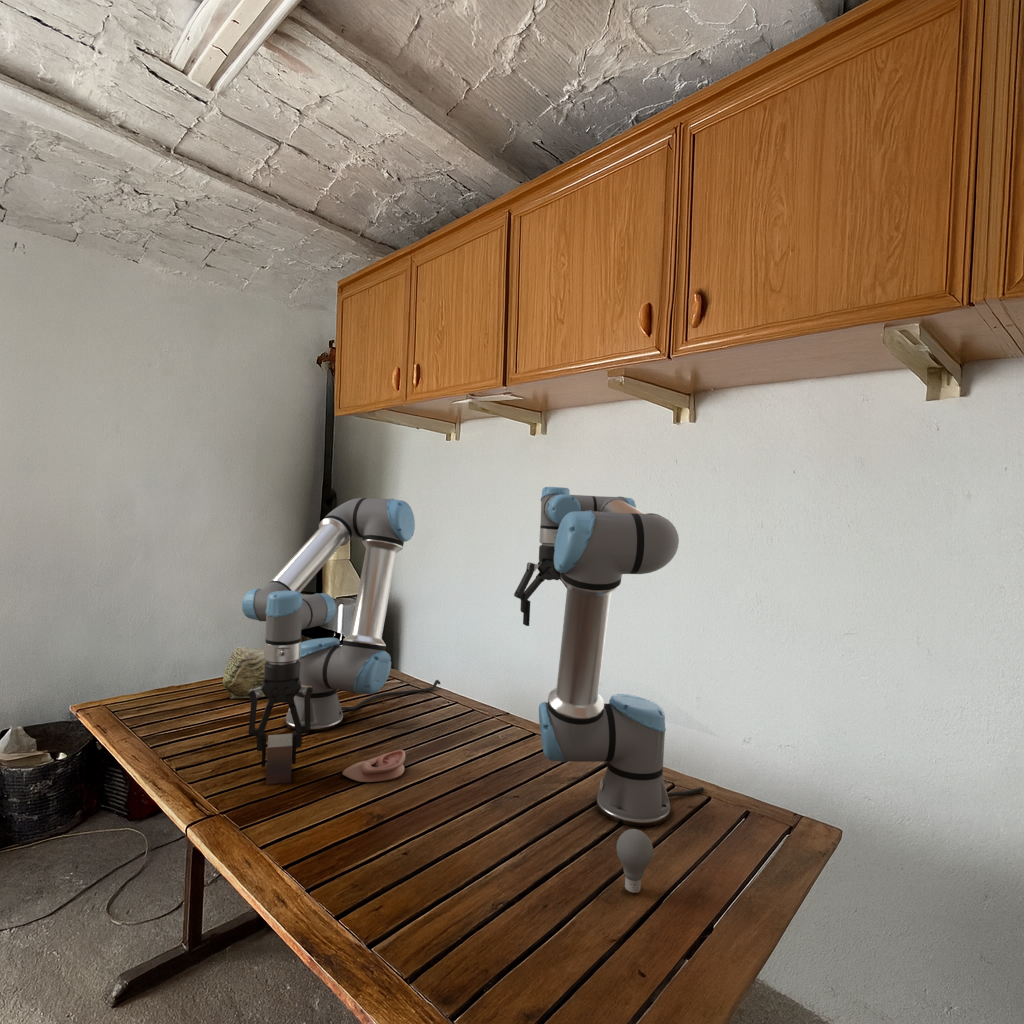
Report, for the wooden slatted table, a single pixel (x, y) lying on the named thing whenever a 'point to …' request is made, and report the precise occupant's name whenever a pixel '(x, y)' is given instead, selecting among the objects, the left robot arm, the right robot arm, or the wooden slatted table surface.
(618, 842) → the light bulb
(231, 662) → the fossil
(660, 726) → the right robot arm
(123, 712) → the wooden slatted table surface
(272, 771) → the block
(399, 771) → the anatomical model
